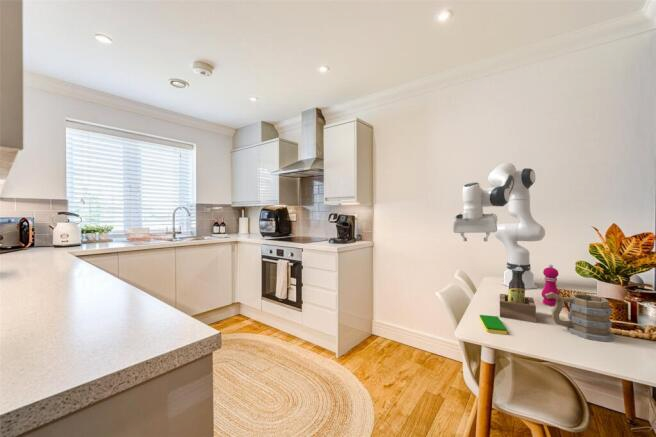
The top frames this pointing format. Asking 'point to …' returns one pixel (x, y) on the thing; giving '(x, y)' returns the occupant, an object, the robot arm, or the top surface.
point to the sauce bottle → (516, 287)
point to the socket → (518, 309)
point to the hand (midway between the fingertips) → (475, 241)
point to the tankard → (585, 316)
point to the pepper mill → (550, 285)
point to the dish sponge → (493, 324)
